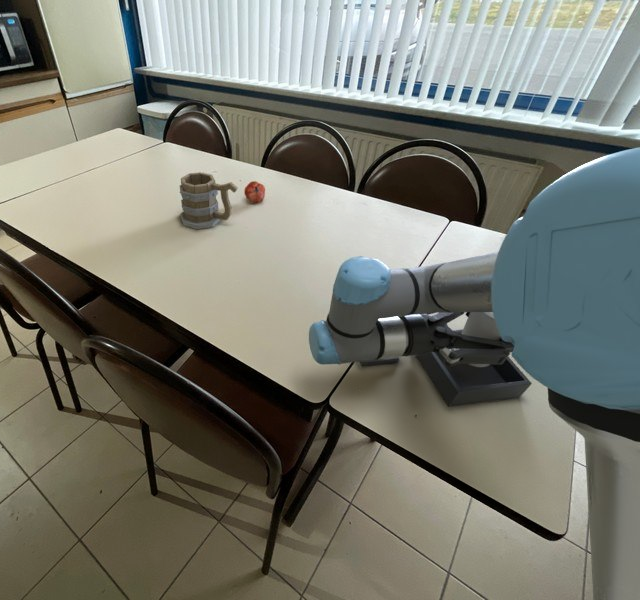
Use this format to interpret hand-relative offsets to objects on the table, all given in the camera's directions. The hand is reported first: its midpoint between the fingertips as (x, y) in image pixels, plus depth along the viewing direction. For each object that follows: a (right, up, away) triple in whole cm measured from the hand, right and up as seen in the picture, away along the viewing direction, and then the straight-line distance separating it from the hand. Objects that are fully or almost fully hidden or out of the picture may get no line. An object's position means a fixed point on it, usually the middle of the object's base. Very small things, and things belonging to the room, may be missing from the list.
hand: (516, 323), depth 67 cm
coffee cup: (-5, -7, +5) cm, 10 cm away
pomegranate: (-45, +40, +66) cm, 89 cm away
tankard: (-60, +30, +54) cm, 87 cm away
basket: (-5, -10, +8) cm, 14 cm away
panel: (-22, -6, +14) cm, 26 cm away
